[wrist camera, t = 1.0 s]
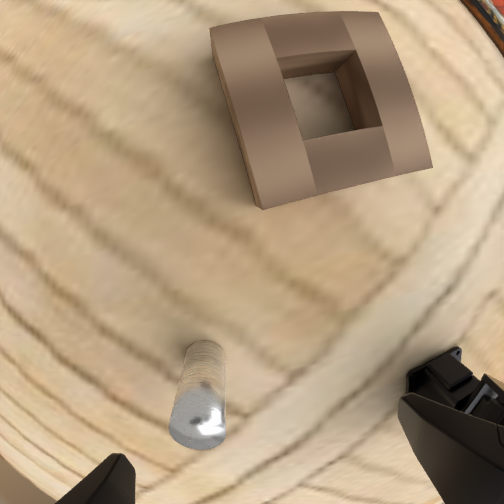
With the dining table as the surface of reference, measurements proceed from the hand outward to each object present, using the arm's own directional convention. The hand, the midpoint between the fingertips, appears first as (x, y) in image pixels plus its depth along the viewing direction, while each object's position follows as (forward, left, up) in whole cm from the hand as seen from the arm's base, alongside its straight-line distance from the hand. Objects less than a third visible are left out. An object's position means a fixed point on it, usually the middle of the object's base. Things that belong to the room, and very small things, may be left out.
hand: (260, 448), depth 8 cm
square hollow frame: (+11, -8, -13) cm, 19 cm away
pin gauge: (-4, +4, -13) cm, 14 cm away
